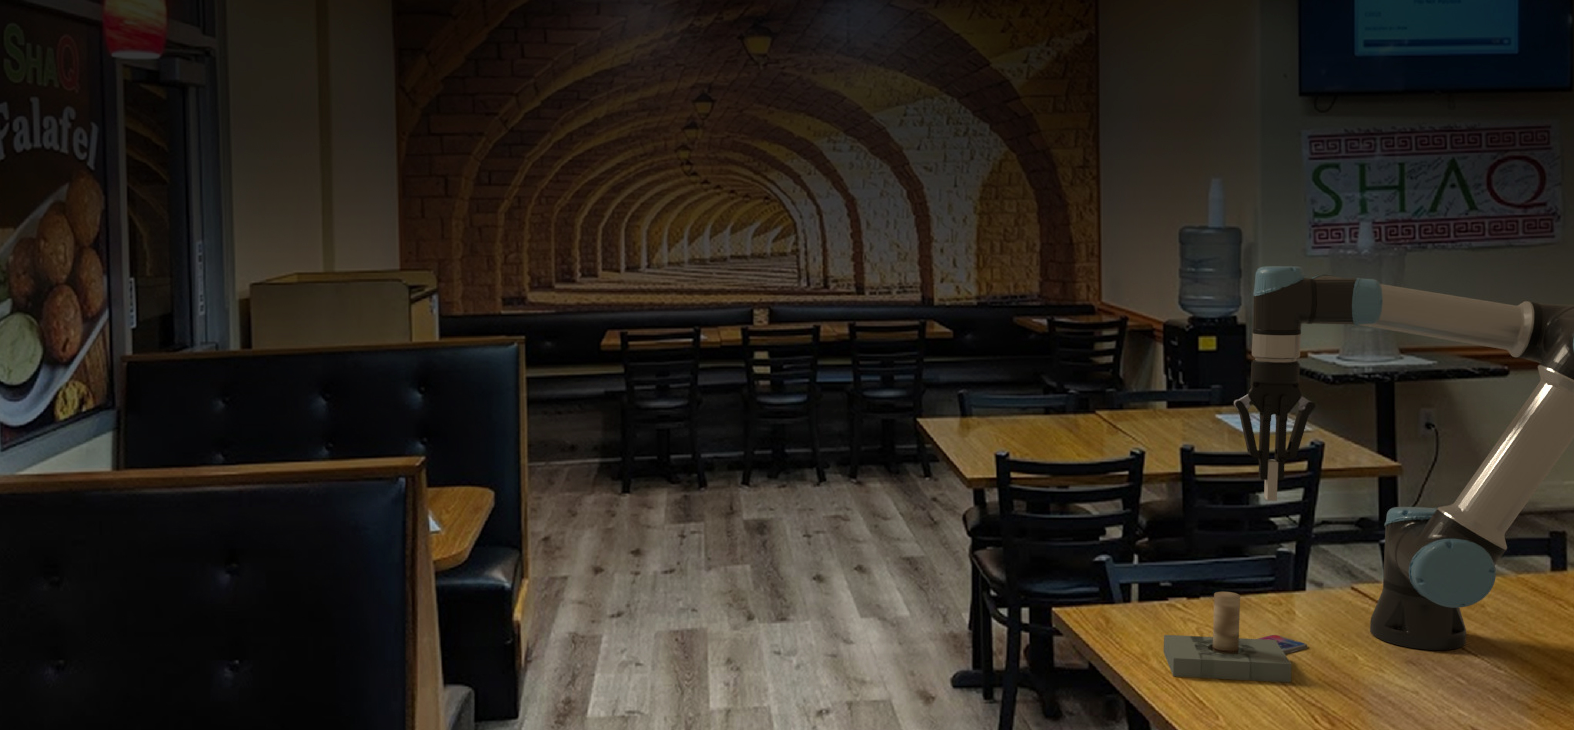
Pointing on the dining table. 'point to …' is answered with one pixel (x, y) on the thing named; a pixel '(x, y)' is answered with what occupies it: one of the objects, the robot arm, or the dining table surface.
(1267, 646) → the board
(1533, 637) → the dining table surface
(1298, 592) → the dining table surface
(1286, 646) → the smartphone
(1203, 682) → the dining table surface
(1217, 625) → the peg
